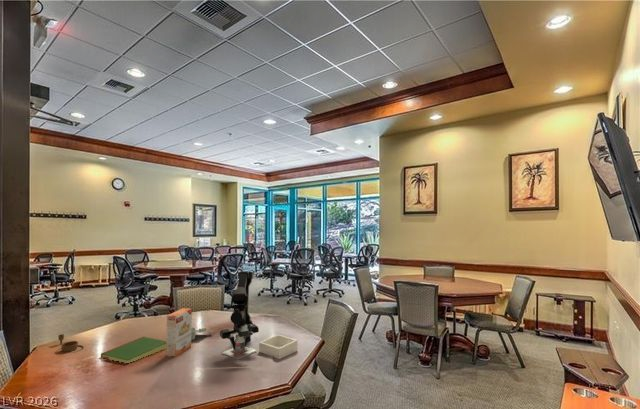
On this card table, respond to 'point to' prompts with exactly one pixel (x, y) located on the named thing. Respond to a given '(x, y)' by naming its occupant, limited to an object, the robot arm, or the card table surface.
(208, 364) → the card table surface
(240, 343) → the pill bottle
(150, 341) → the hardcover book
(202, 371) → the card table surface
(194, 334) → the metal bracket
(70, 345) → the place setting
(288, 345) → the bin
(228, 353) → the socket block
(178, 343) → the cracker box
